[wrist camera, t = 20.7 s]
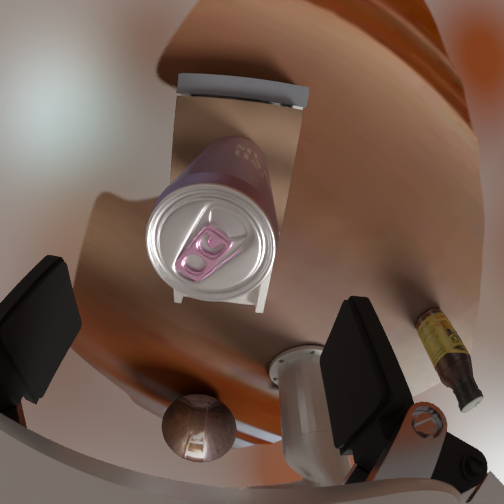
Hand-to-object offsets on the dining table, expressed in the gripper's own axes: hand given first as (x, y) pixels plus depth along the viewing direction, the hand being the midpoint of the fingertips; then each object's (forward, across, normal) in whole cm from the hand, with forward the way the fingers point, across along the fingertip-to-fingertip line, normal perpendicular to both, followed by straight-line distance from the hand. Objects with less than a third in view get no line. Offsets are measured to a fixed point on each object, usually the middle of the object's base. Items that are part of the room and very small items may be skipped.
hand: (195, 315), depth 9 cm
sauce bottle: (+26, -36, +21) cm, 49 cm away
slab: (+23, 0, -1) cm, 23 cm away
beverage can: (+19, 0, -1) cm, 19 cm away
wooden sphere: (+26, +2, +49) cm, 55 cm away
